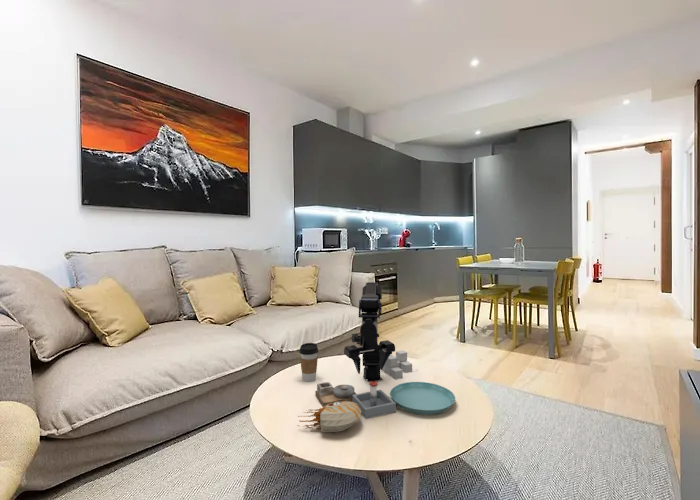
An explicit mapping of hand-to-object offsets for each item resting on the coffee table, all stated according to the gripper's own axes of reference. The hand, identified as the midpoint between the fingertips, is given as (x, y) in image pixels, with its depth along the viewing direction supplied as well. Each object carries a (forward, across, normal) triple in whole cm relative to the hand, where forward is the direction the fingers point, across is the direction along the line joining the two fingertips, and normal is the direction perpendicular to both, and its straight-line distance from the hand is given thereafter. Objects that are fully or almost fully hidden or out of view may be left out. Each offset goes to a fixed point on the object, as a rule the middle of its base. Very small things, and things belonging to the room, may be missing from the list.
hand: (369, 371), depth 135 cm
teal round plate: (+13, -19, +6) cm, 24 cm away
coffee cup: (+13, +15, -31) cm, 37 cm away
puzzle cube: (+14, -25, -22) cm, 36 cm away
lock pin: (+12, 0, +3) cm, 12 cm away
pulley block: (+13, +10, -9) cm, 19 cm away
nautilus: (+13, +19, +8) cm, 24 cm away
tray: (+13, 0, +3) cm, 13 cm away
